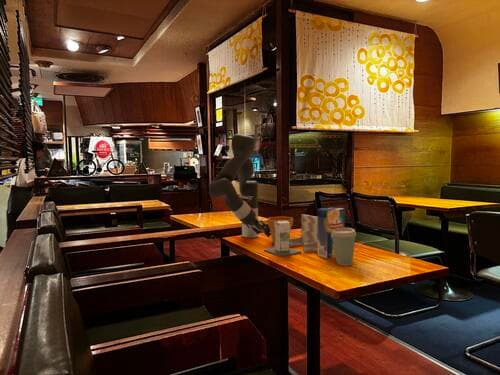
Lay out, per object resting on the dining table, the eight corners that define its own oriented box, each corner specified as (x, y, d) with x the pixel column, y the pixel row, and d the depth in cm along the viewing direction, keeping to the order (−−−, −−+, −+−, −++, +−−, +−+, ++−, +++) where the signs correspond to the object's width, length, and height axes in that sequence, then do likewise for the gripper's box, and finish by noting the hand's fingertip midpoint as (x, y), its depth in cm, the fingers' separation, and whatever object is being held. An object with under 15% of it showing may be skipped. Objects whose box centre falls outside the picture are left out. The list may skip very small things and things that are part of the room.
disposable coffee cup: (352, 268, 146) (352, 232, 145) (327, 264, 152) (327, 230, 151) (359, 262, 155) (359, 228, 154) (335, 259, 161) (335, 226, 160)
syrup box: (284, 248, 178) (284, 220, 177) (290, 251, 173) (290, 221, 172) (274, 249, 176) (274, 220, 175) (280, 252, 170) (279, 222, 169)
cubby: (286, 246, 185) (286, 216, 184) (303, 243, 192) (302, 214, 190) (305, 252, 173) (305, 220, 172) (322, 248, 180) (322, 217, 179)
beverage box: (344, 254, 168) (344, 208, 166) (327, 258, 162) (327, 210, 160) (334, 251, 174) (334, 207, 172) (317, 255, 168) (317, 209, 166)
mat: (264, 251, 177) (264, 249, 177) (282, 247, 184) (282, 246, 184) (281, 257, 165) (281, 255, 165) (301, 253, 172) (301, 251, 172)
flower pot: (264, 239, 203) (264, 217, 202) (287, 237, 207) (287, 215, 206) (272, 245, 189) (272, 221, 188) (297, 243, 193) (297, 219, 192)
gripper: (257, 207, 156) (278, 230, 163) (240, 204, 168) (260, 225, 175) (247, 220, 153) (268, 243, 160) (230, 216, 165) (251, 238, 172)
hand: (264, 234), depth 168 cm, fingers open, 8 cm apart
